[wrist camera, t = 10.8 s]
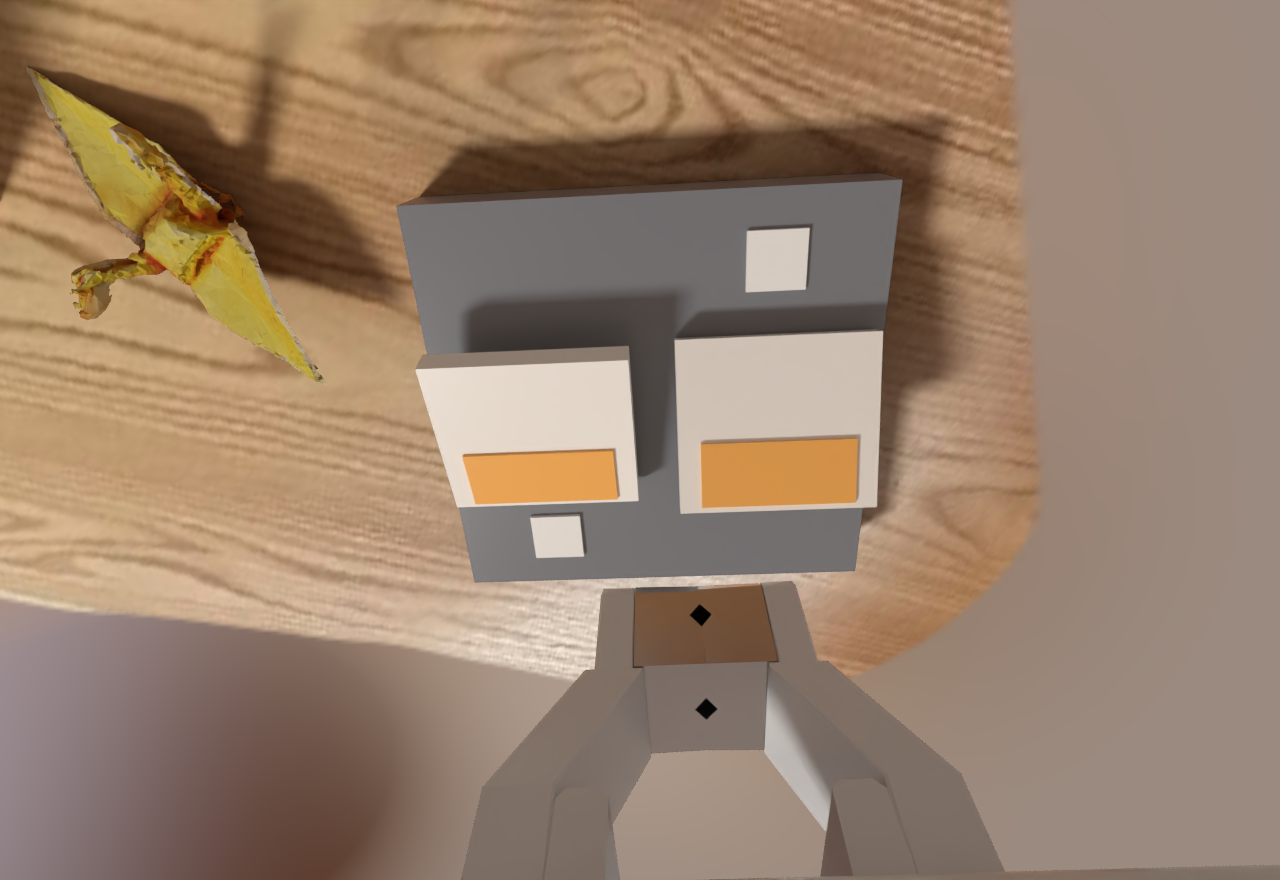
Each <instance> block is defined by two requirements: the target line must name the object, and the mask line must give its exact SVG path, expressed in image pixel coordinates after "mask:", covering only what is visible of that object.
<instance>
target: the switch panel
mask: <svg viewBox="0 0 1280 880" xmlns="http://www.w3.org/2000/svg"><path fill="white" fill-rule="evenodd" d="M902 181H903V180H902V179H899V178H896V177H893V176H889V175H886V174H883V173H865V174H846V175H827V176H808V177H789V178H770V179H751V180H732V181H713V182H694V183H675V184H656V185H637V186H618V187H599V188H580V189H561V190H542V191H523V192H504V193H485V194H466V195H447V196H428V197H418V198H415V199H413V200H410V201H408V202H405V203H403V204H400V205H398V206H396V207H397V212H398V217H399V221H400V226H401V231H402V236H403V241H404V245H405V250H406V255H407V260H408V265H409V269H410V274H411V279H412V284H413V289H414V293H415V298H416V303H417V308H418V313H419V317H420V322H421V327H422V332H423V337H424V341H425V346H426V351H427V355H431V354H454V353H477V352H500V351H523V350H546V349H569V348H592V347H615V346H629V356H630V369H631V383H632V397H633V411H634V425H635V439H636V452H637V466H638V480H639V501H628V502H599V503H571V504H542V505H513V506H484V507H459V509H460V514H461V519H462V524H463V529H464V533H465V538H466V543H467V548H468V553H469V557H470V562H471V567H472V572H473V577H474V581H475V583H477V582H510V581H543V580H576V579H609V578H642V577H675V576H708V575H741V574H774V573H807V572H840V571H855V567H856V559H857V551H858V543H859V534H860V526H861V518H862V510H863V508H837V509H807V510H778V511H748V512H719V513H689V514H681V512H680V495H679V465H678V435H677V406H676V376H675V346H674V338H690V337H713V336H735V335H758V334H781V333H804V332H827V331H849V330H872V329H875V330H880V331H883V337H884V329H885V321H886V312H887V304H888V296H889V288H890V279H891V271H892V263H893V255H894V247H895V238H896V230H897V222H898V214H899V205H900V197H901V189H902Z"/></svg>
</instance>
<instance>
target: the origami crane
mask: <svg viewBox="0 0 1280 880" xmlns="http://www.w3.org/2000/svg"><path fill="white" fill-rule="evenodd" d="M26 71H27V73H28V74H29V76H30V77H31V79H32V83H33V85H34V87H35V88H36V90H37V91H38V93H39V98H40V100H41V103H43V105H44V109H45V111H46V113H47V114H48V116H49V117H50V118H51V120H52V121H53V122H54V125H55V129H56V133H57V134H58V136H59V137H60V138H61V140H62V141H63V142H64V146H65V147H66V149H67V151H68V152H69V155H70V157H71V159H72V162H73V165H74V167H75V168H76V171H77V173H78V175H79V176H80V177H81V178H82V181H83V183H84V185H85V186H86V188H87V189H88V192H89V194H90V196H91V197H92V199H93V200H94V202H95V203H96V205H98V207H99V211H100V212H101V214H102V215H103V216H104V217H105V220H106V221H108V220H110V223H111V224H112V225H113V226H116V227H117V228H119V230H120V231H121V232H122V233H125V234H126V236H127V237H129V238H130V239H131V240H132V241H133V242H134V243H135V244H136V245H138V246H139V247H140V251H139V253H132V254H130V256H129V258H126V259H111V260H104V261H101V262H98V263H93V264H89V265H85V266H82V267H80V268H78V269H76V270H74V271H73V273H72V274H71V279H72V283H74V284H76V286H77V289H76V290H73V289H71V290H72V294H73V293H76V294H78V295H79V302H80V303H76V302H74V303H73V304H74V306H75V308H81V310H80V312H79V313H80V317H81V318H84V319H86V320H90V319H94V318H97V317H98V316H100V315H101V314H102V313H103V312H104V311H105V310H106V308H107V307H108V305H109V303H110V301H111V296H112V295H111V296H109V291H110V289H108V288H109V285H111V284H112V283H114V282H115V280H116V279H118V278H120V279H121V278H123V279H125V278H126V279H130V278H131V277H134V276H140V275H143V274H147V275H157V274H160V273H162V272H163V271H165V270H168V271H170V272H171V274H173V275H174V276H175V277H177V278H178V279H179V280H180V281H182V283H185V284H187V285H190V287H191V289H192V291H193V293H194V295H195V296H196V298H197V299H198V300H199V301H200V302H202V303H203V305H204V307H205V309H206V310H207V312H208V314H209V315H210V316H211V317H213V318H214V319H216V320H217V321H218V322H220V323H221V324H223V325H224V326H226V327H227V328H228V329H230V330H231V331H232V332H234V333H236V334H237V335H239V336H240V337H242V338H244V339H248V340H250V341H251V342H252V343H253V344H255V345H256V346H259V347H261V348H263V349H265V350H267V351H269V352H271V353H272V354H274V356H276V357H277V358H279V359H280V360H281V359H282V360H283V361H284V360H285V361H286V362H289V363H290V365H291V366H292V367H294V368H295V369H297V370H299V371H300V372H301V373H304V374H305V375H306V376H307V377H310V378H312V379H313V380H315V381H316V382H320V383H324V384H325V385H327V384H326V383H325V381H324V379H323V377H322V375H319V374H318V372H317V370H316V369H318V368H317V367H316V366H315V365H314V364H313V363H312V362H311V361H310V358H309V356H308V355H307V354H306V351H305V350H304V349H303V347H302V346H301V344H300V341H299V339H298V338H297V337H296V334H295V333H294V332H293V330H292V329H291V328H290V326H289V324H288V323H287V320H286V318H285V317H284V315H283V313H282V310H281V309H280V307H279V305H278V302H277V301H276V298H275V297H274V296H273V295H272V292H271V291H270V288H269V284H268V283H267V281H266V279H264V278H265V277H264V276H263V273H262V271H261V268H259V267H260V266H259V264H258V262H259V261H258V259H257V258H256V256H255V254H254V253H255V251H254V248H253V246H252V244H251V242H250V241H249V239H248V236H247V231H245V230H244V228H242V227H240V226H238V222H237V221H236V218H239V217H244V216H245V215H244V212H243V210H242V209H241V207H240V206H238V205H237V203H236V202H235V201H234V199H233V198H232V196H231V195H229V194H224V193H221V192H220V191H218V190H216V189H213V188H211V187H210V186H209V185H206V184H204V183H202V182H201V184H202V186H203V187H204V188H205V189H208V190H210V191H211V192H212V193H220V199H219V201H218V202H216V201H214V199H213V198H211V196H208V195H207V194H205V192H204V191H202V190H201V188H203V187H202V186H201V185H199V183H198V182H197V181H196V180H195V179H194V178H192V176H190V174H189V173H188V172H187V171H185V170H184V169H183V168H182V167H181V165H180V164H179V163H178V162H176V161H175V160H174V159H173V158H172V157H171V156H170V155H169V154H168V153H167V152H166V151H165V150H164V149H163V148H162V147H161V146H160V145H159V144H157V143H154V142H153V141H149V140H148V139H147V138H145V137H144V136H143V135H142V134H141V133H140V132H139V131H138V130H136V129H133V128H131V127H128V126H126V125H124V124H123V123H121V122H119V121H117V120H115V119H114V118H113V117H110V115H108V114H105V112H103V111H102V110H100V109H98V108H96V107H95V106H92V105H90V104H87V103H86V101H84V100H83V99H81V98H79V97H77V96H75V95H74V94H73V95H72V93H71V92H69V91H66V90H64V89H62V88H60V87H58V86H57V85H55V84H54V83H52V82H51V81H50V79H48V78H46V77H45V76H43V75H42V74H40V73H38V72H37V71H34V70H33V69H31V68H28V67H27V66H26ZM204 188H203V189H204ZM229 201H230V202H231V203H232V204H231V205H233V206H234V207H235V211H234V212H233V211H232V210H231V209H230V208H228V207H221V206H220V203H221V202H223V203H227V202H229ZM236 222H237V223H236Z"/></svg>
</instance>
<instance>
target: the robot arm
mask: <svg viewBox="0 0 1280 880" xmlns="http://www.w3.org/2000/svg"><path fill="white" fill-rule="evenodd" d="M699 750H764V753H765V754H766V755H767V757H768V758H769V759H770V761H771V762H772V763H773V764H774V766H775V767H776V768H777V770H778V771H779V772H780V773H781V774H782V776H783V777H784V779H786V781H787V782H788V784H789V785H790V786H791V787H792V789H793V790H794V791H795V793H796V794H797V795H798V797H799V798H800V799H801V800H802V802H803V803H804V804H805V805H806V807H807V808H808V809H809V811H810V812H811V813H812V814H813V816H814V817H815V818H816V819H817V821H818V822H819V823H820V825H821V826H822V827H823V829H824V830H825V831H826V839H825V846H824V853H823V861H822V868H821V876H820V877H788V878H750V879H715V880H1280V865H1248V866H1246V865H1245V866H1208V867H1168V868H1131V869H1130V868H1129V869H1090V870H1051V871H1014V872H1013V871H1012V872H1005V870H1004V868H1003V866H1002V864H1001V862H1000V859H999V857H998V855H997V852H996V850H995V848H994V846H993V843H992V841H991V839H990V837H989V834H988V832H987V830H986V828H985V826H984V824H983V821H982V819H981V817H980V815H979V812H978V810H977V808H976V806H975V803H974V801H973V799H972V797H971V794H970V792H969V790H968V788H967V785H966V783H965V781H964V779H963V776H962V774H961V773H960V772H959V771H957V770H956V769H955V768H954V767H953V766H952V765H951V764H949V763H948V762H947V761H946V760H945V759H943V758H942V757H941V756H940V755H939V754H937V753H936V752H935V751H934V750H933V749H932V748H930V747H929V746H928V745H927V744H926V743H924V742H923V741H922V740H921V739H920V738H918V737H917V736H916V735H915V734H914V733H913V732H911V731H910V730H909V729H908V728H907V727H905V726H904V725H903V724H902V723H901V722H900V721H898V720H897V719H896V718H895V717H894V716H893V715H891V714H890V713H889V712H888V711H886V710H885V709H884V708H883V707H882V706H881V705H880V704H878V703H877V702H876V701H875V700H874V699H872V698H871V697H870V696H869V695H868V694H867V693H865V692H864V691H863V690H862V689H860V688H859V687H858V686H857V685H856V684H855V683H853V682H852V681H851V680H850V679H849V678H848V677H846V676H845V675H844V674H843V673H842V672H841V671H839V670H838V669H837V668H836V667H835V666H833V665H832V664H831V663H830V662H829V661H818V659H817V656H816V653H815V649H814V646H813V642H812V639H811V636H810V632H809V629H808V626H807V622H806V619H805V615H804V612H803V609H802V605H801V602H800V599H799V595H798V592H797V588H796V585H795V584H794V583H793V582H792V581H782V582H765V583H760V584H759V583H755V584H735V585H715V586H696V587H643V588H635V589H634V588H625V589H603V592H602V595H601V602H600V614H599V625H598V637H597V649H596V660H595V669H594V670H585V671H584V672H583V673H582V674H581V675H580V676H579V678H578V679H577V680H576V681H575V682H574V683H573V684H572V686H571V687H570V688H569V689H568V690H567V691H566V692H565V694H564V695H563V696H562V697H561V698H560V699H559V700H558V702H557V703H556V704H555V705H554V706H553V707H552V708H551V710H550V711H549V712H548V713H547V714H546V715H545V717H544V718H543V719H542V720H541V721H540V722H539V723H538V724H537V726H536V727H535V728H534V729H533V730H532V731H531V732H530V734H529V735H528V736H527V737H526V738H525V739H524V740H523V742H522V743H521V744H520V745H519V746H518V747H517V748H516V750H515V751H514V752H513V753H512V754H511V755H510V756H509V757H508V759H507V760H506V761H505V762H504V763H503V764H502V766H501V767H500V768H499V769H498V770H497V771H496V772H495V773H494V775H493V776H492V777H491V778H490V779H489V780H488V781H487V783H486V784H485V785H484V786H483V788H482V791H481V795H480V800H479V805H478V808H477V812H476V817H475V821H474V826H473V830H472V834H471V838H470V843H469V847H468V851H467V855H466V860H465V864H464V868H463V873H462V877H461V880H620V876H619V869H618V862H617V854H616V848H615V840H614V833H613V825H612V824H613V822H614V821H615V819H616V817H617V816H618V814H619V812H620V810H621V809H622V807H623V805H624V803H625V802H626V800H627V798H628V796H629V795H630V792H631V791H632V789H633V788H634V786H635V784H636V782H637V781H638V779H639V777H640V775H641V774H642V772H643V770H644V769H645V767H646V765H647V763H648V762H649V760H650V758H651V753H667V752H682V751H699ZM711 880H713V879H711Z"/></svg>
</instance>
